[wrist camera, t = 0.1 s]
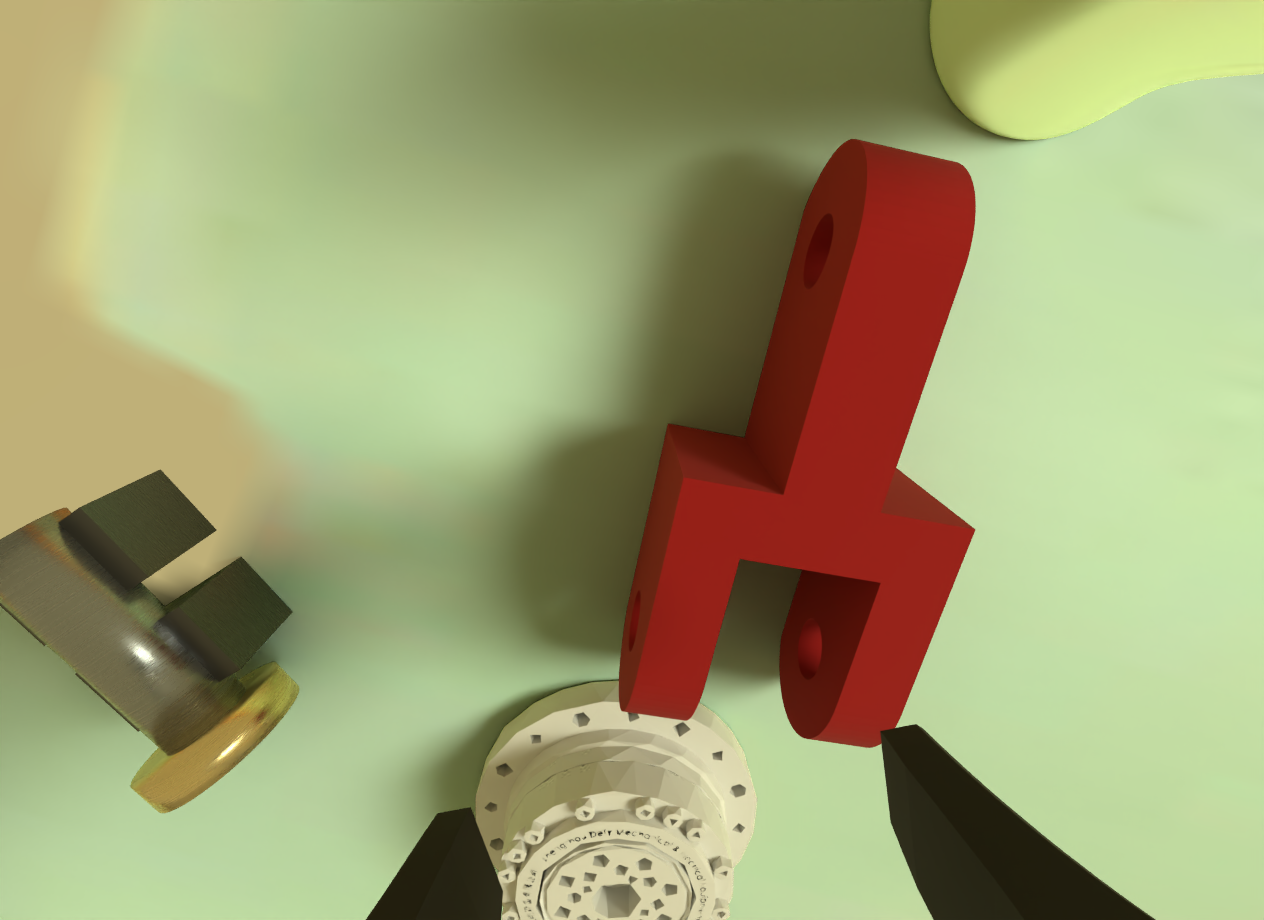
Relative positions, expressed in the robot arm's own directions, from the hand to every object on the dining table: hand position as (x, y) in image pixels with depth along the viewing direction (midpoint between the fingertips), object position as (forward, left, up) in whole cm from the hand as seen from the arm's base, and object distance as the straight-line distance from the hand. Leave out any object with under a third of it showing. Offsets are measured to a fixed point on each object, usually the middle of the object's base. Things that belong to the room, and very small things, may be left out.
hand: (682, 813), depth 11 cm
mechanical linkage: (+3, -5, -10) cm, 12 cm away
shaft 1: (+2, +15, -10) cm, 18 cm away
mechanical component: (-9, +3, -10) cm, 14 cm away
